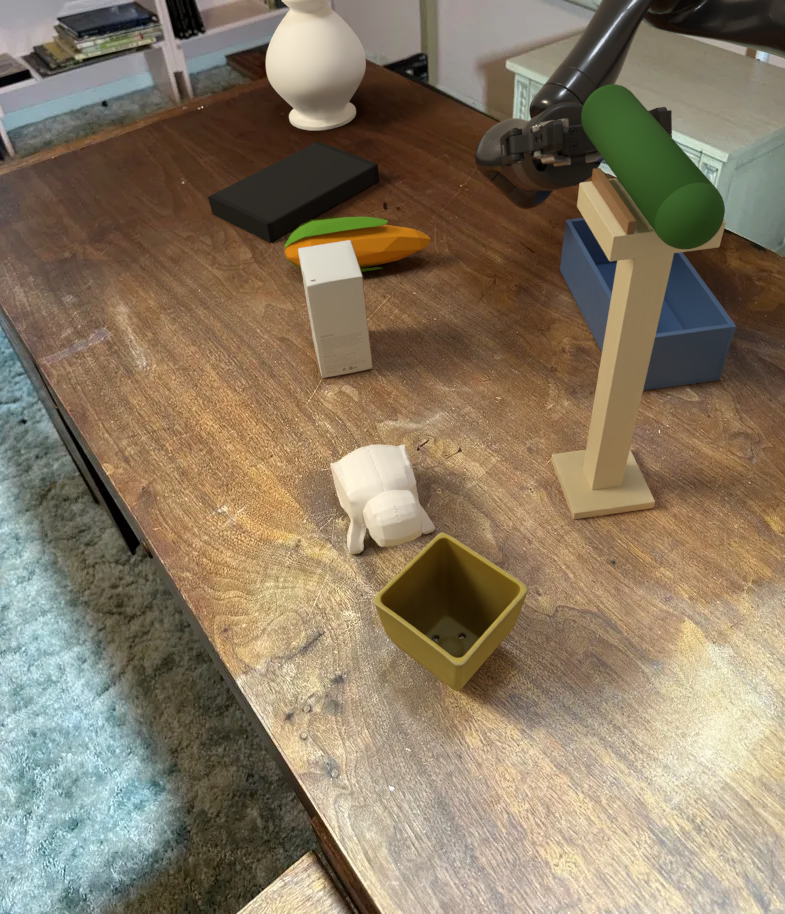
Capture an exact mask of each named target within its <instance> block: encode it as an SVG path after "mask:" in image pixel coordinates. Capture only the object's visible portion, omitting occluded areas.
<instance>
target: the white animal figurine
mask: <svg viewBox="0 0 785 914" xmlns="http://www.w3.org/2000/svg"><path fill="white" fill-rule="evenodd" d="M330 470H331V474H332V480H333V484H334V487H335V491H336V495H337V499H338V502H339V505H340V507H341V508H342V509H343V510H344V512H346V514H347V516H348V518H349V520H350V524H349V526H348V530H347V534H346V547H347V550H348V553H349V554H350V555H356V554H360V553H362V552H363V551H364V547H365V545H364V540H365V536H366V533H367V530H368V533H369V535H370V537H371V539H373V540H374V541H375V543H376V544H377V545H378V546H379V547H381V548H385V547H386V548H387V547H388V548H389V547H395V546H398V545H403V544H405V543H409V542H412V541H414V540H416V539H417V538H419V537H421V536H422V535H423V534H424V535H428V534H431V533H434V531H435V530H436V526H435V525H434V523H433V521H432V519H431V518H430V517H429V515H428V514H427V512H426V510H425V509H424V507H423V506H422V505H421V504H420V500H419V499H420V498H419V494H418V488H417V479H416V477H415V473H414V470H413V466H412V462H411V459H410V455H409V451H408V449H407V446H406V444H405V443H404V444H400V445H393V444H379V443H377V444H369V445H365V446H361V447H358V448H356V449H354V450H353V451H350V452H349V453H347V454H345V455H344V456H343V457H341V458H340V459H339V460H338V461H334V462H331V463H330Z"/></svg>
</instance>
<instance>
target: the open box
mask: <svg viewBox="0 0 785 914" xmlns="http://www.w3.org/2000/svg"><path fill="white" fill-rule="evenodd" d="M616 266H617V261H611V262H610V261H609V260H608V258H607V256H606V255H605V253H604V251H603V250H602V248H601V246H600V245H599V243H598V241H597V239H596V238H595V236H594V234H593V233H592V231H591V229H590V228H589V226H588V224H587V223H586V221H585V219H584V218H583V217H577V218H570V219H569V218H568V219H565V220H564V230H563V239H562V249H561V258H560V268H559V271H560V273H561V275H562V278H563V279H564V281H565V283H566V285H567V287H568V290H569V291H570V293H571V294H572V297H573V299H574V301H575V303H576V305H577V307H578V309H579V312H580V313H581V316H582V317H583V319H584V321H585V323H586V325H587V327H588V329H589V331H590V332H591V334H592V336H593V339H594V341H595V342H596V345H597V347H598V348H599V351H600V352H601V353H602V350H603V344H604V338H605V332H606V326H607V320H608V314H609V308H610V302H611V296H612V290H613V284H614V278H615V272H616ZM736 329H737V325H736V323H735V322H734V320H732V318H731V316H730V315H729V314H728V313H727V311H726V310H725V309H724V307H723V305H722V304H721V303H720V302H719V300H718V299H717V298H716V296H715V294H714V293H713V291H712V290H711V289H710V288H709V286H708V285H707V283H706V282H705V281H704V279H703V278H702V277H701V275H700V274H699V273H698V271H697V270H696V268H695V267H694V266H693V264H692V262H690V260H689V259H688V257H687V256H686V255H685V253H684V252H679V253H674V256H673V260H672V265H671V269H670V274H669V278H668V282H667V287H666V291H665V296H664V300H663V304H662V309H661V313H660V318H659V322H658V327H657V331H656V335H655V340H654V344H653V349H652V353H651V358H650V362H649V366H648V371H647V375H646V380H645V384H644V389H643V392H644V391H649V390H658V389H665V388H671V387H672V388H673V387H678V386H687V385H693V384H700V383H708V382H715V381H720V379H721V376H722V373H723V370H724V367H725V364H726V360H727V357H728V355H729V351H730V349H731V345H732V342H733V339H734V335H735V332H736Z"/></svg>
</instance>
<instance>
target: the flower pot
mask: <svg viewBox="0 0 785 914" xmlns="http://www.w3.org/2000/svg"><path fill="white" fill-rule="evenodd" d="M528 591H529V587H528V586H527V585H526V584H525V583H524V582H523V581H522V580H520V579H518V578H517V577H516V576H514V575H512V574H510V573H509V572H507V571H506V570H505V569H503V568H501V567H499V566H498V565H496V564H495V563H493V562H492V561H491V560H489V559H487V558H486V557H484V556H482V555H481V554H479V553H478V552H476V551H475V550H473V549H472V548H470V547H469V546H467V545H466V544H465V543H463V542H461V541H460V540H459V539H457V538H455V537H453V536H452V535H450V534H448V533H445V532H443V531H442V532H440V533H438V534H437V535H436V536H435V537H433V538H432V539H431V540H430V542H428V543H427V544H426V545H425V547H423V549H421V550H420V551H419V552H418V553H417V554H416V555H415V556H414V557H413V559H412V560H411V561H409V563H407V564H406V565H405V566H404V567H403V568H402V570H400V571H399V572H398V573H397V574H396V575H395V576H394V577H393V578H392V579H391V580H389V582H387V583H386V584H385V585H384V586H383V588H381V589H380V591H379V592H378V593H376V595H375V596H374V598H373V603H374V607H375V610H376V612H377V615H378V617H379V621H380V623H381V625H382V628H383V630H384V632H385V634H386V636H387V637H388V638H389V640H390V641H391V642H392V643H393V644H394V646H396V647H397V648H398V649H400V650H401V651H402V652H403V653H404V654H406V655H408V657H410V658H411V659H412V660H414V661H415V662H416V663H418V665H421V666H422V667H423V668H424V669H425V670H427V671H428V672H429V673H431V674H432V675H433V676H434V677H436V678H437V680H439V681H441V682H442V683H443V684H445V685H446V686H447V687H449V688H450V689H451V690H453V691H456V692H457V691H460V690H461V689H463V688H464V687H465V685H466V684H467V683H468V682H469V680H470V679H471V678H472V677H473V676H474V675H475V674H476V672H477V671H478V670H479V669H480V667H482V665H483V664H484V663H485V662H486V661H487V660H488V658H489V657H490V656H491V655H492V654H493V653H494V652H495V651H496V649H497V648H498V647H499V646H500V645H501V643H503V641H505V640H506V638H507V637H508V636H509V635H510V634H511V632H512V630H513V629H514V627H515V626H516V624H517V623H518V619H519V617H520V614H521V611H522V608H523V606H524V603H525V600H526V597H527V594H528ZM461 635H464V637H465V638H464V639H463V638H462V639H461V638H460V636H461ZM435 637H437V638H438V640H437V641H435V640H434V638H435Z"/></svg>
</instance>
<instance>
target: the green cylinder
mask: <svg viewBox="0 0 785 914" xmlns="http://www.w3.org/2000/svg"><path fill="white" fill-rule="evenodd" d="M581 122H582V127H583V129H584V131H585V133H586V135H587V136H588V138H589V139H590V140H591V142H592V143H593V145H594V146H595V147H596V149H597V150H598V152H599V153H600V155H601V156H602V157H603V159H604V160H603V161H605V163H606V164H607V166H608V168H609V169H610V171H611V172H612V173H613V175H614V176H615V178H617V179H618V180H619V181H620V183H621V184H622V186H623V187H624V189H625V190H626V191H627V193H628V194H629V196H630V197H631V198H632V200H633V201H634V203H635V204H636V206H637V207H638V208H639V210H640V211H641V213H642V214H643V215H644V217H645V218H646V220H647V221H648V223H649V224H650V225H651V227H652V228H653V230H654V231H655V232H656V234H657V235H658V237H659V238H660V239H661V240H662V241H663V242H664V243H666V244H667V245H669V246H671V247H674V248H677V249H693V248H696V247H699V246H702V245H703V244H705V243H707V242H708V241H710V240H711V239H712V238H713V237H714V236H715V235H716V233H717V232H718V231H719V229H720V227H721V226H722V223H723V220H725V213H726V205H725V202H724V198H723V196H722V194H721V193H720V191H719V189H717V187H716V186H715V185H714V184H713V183H712V182H711V180H710V179H709V178H708V177H707V176H706V175H705V173H704V172H703V171H702V170H701V169H700V168H699V167H698V165H696V164H695V162H694V161H693V160H692V159H691V158H690V156H689V155H688V154H687V153H686V152H685V151H684V150H683V149H682V148H681V146H680V145H679V144H678V143H677V142H676V141H675V140H674V139H673V136H672V137H671V136H670V135H669V134H668V133H667V132H666V131H665V130H664V128H663V127H662V126H661V125H660V124H659V123H658V122H657V120H656V119H655V118H654V117H653V116H652V115H651V114H650V113H649V109H647V108H646V106H645V105H644V104H643V103H642V102H641V101H640V100H639V98H637V97H636V95H635V94H634V93H633V92H632V91H631V90H630V89H628V88H627V87H625V86H624V85H622V84H617V83H615V84H609V85H605V86H602V87H600V88H598V89H597V90H595V91H594V92H593V93H592V94H591V95H590V96H589V97H588V98H587V100H586V102H585V104H584V106H583V109H582V114H581Z"/></svg>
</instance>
